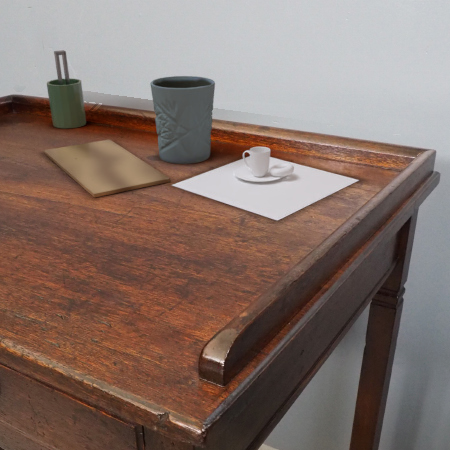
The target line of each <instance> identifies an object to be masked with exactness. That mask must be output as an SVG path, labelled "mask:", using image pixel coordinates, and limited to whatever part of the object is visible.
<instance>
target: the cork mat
mask: <svg viewBox="0 0 450 450" xmlns="http://www.w3.org/2000/svg"><path fill="white" fill-rule="evenodd" d="M43 154H44V155H45V156H46V157H47V158H48V159H49V160H51V161H52V162H53V163H54V164H55V165H57V166H58V167H59V168H60V169H61V170H62V171H63V172H64V173H65V174H67V175H68V176H69V177H70V178H72V179H73V181H75V182H76V183H77V184H78V185H80V187H82V188H83V190H85V191H86V193H88V194H89V195H91V197H93V198H100V197H104V196H110V195H113V194H119V193H124V192H127V191H128V192H129V191H132V190H133V191H134V190H137V189H141V188H147V187H152V186H156V185H162V184H166V183H170V182H171V180H170V179H171V178H170V177H169V176H167V175H165V174H164V173H163V172H161V171H159V170H158V169H156V168H155V167H153V166H151V165H150V164H148V163H147V162H146V161H144V160H142V159H140V157H137V155H134V154H133V153H131V152H130V151H128V150H127V149H126V148H124V147H122V146H121V145H119V144H117V142H115V141H113V140H111V139H104V140H97V141H91V142H86V143H85V142H84V143H80V144H74V145H69V146H62V147H56V148H49V149H43Z"/></svg>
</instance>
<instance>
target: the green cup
mask: <svg viewBox="0 0 450 450" xmlns="http://www.w3.org/2000/svg"><path fill="white" fill-rule="evenodd" d="M69 79H70V85H66V81H65V78H62V81H63V85H59V83H58V78H57V79H52V80H49V81H47V82H46V89H47V95H48V102H49V108H50V115H51V121H52V125H53V127H54V128H58V129H76V128H80V127H83V126H85V125H87V116H86V115H87V114H86V107H85V99H84V92H83V91H84V90H83V83H82V80H81V79H78V78H70V77H69Z"/></svg>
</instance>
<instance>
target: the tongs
mask: <svg viewBox="0 0 450 450" xmlns="http://www.w3.org/2000/svg"><path fill="white" fill-rule="evenodd" d="M53 55H54V61H55V69H56V75H57V79H58V83H59V85H63V81H62V79H63V74H64V79H65V81H66V85H70V79H71V78H70V74H69V73H70V71H69V66H68V59H67V58H68V57H67V51H66V50H53ZM60 56H61V58H62V59H61V60H62V67H63V74H62V69H61V68H62V67H61V61H60ZM69 78H70V79H69Z"/></svg>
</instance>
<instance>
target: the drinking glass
mask: <svg viewBox="0 0 450 450" xmlns="http://www.w3.org/2000/svg"><path fill="white" fill-rule="evenodd" d="M149 85H150V91H151V97H152V105H153V110H154V114H155V118H154V121H155V128H156V134H157V145H158V155H159V158H160V160H161V161H163V162H166V163H169V164H175V165H177V164H178V165H190V164H197V163H200V162H204V161H206V160H208V159H209V158H210V156H211V147H212V144H211V142H212V135H211V133H212V129H213V110H214V100H215V87H216V83H215V80H214V79H211V78H208V77H205V76H204V77H203V76H195V75H194V76H193V75H175V76H165V77H159V78H155V79H152V80H151V81H150V84H149Z"/></svg>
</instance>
